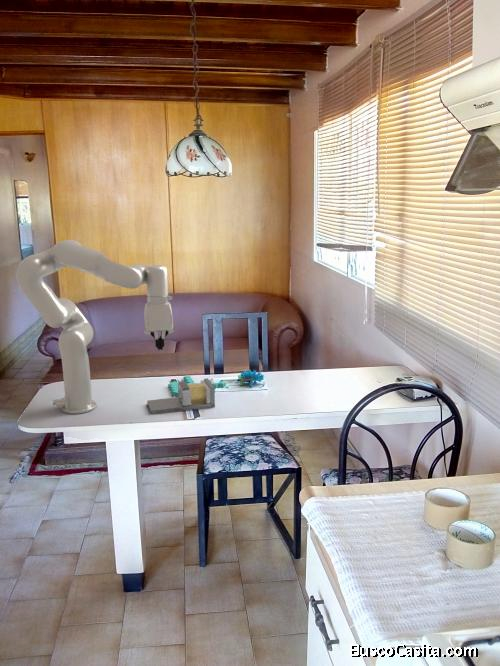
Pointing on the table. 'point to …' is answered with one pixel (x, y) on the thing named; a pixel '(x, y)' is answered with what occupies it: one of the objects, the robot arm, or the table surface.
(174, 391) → the alien figure
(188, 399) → the sliding jaw
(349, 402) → the table surface
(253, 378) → the blue flower cluster
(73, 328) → the robot arm
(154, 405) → the vise bed
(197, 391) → the brass block
